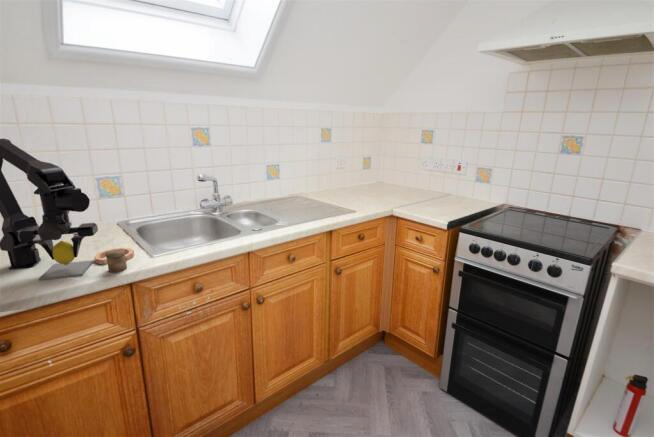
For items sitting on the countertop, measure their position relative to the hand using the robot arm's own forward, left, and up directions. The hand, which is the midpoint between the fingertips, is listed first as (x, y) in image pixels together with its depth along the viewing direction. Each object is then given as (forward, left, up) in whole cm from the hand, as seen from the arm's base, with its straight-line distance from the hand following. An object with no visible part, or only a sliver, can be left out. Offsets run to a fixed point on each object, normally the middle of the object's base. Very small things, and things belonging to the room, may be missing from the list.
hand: (65, 258), depth 109 cm
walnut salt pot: (+15, -4, -4) cm, 16 cm away
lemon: (0, 0, -3) cm, 3 cm away
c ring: (+12, +7, -4) cm, 14 cm away
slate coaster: (0, 0, -4) cm, 4 cm away
